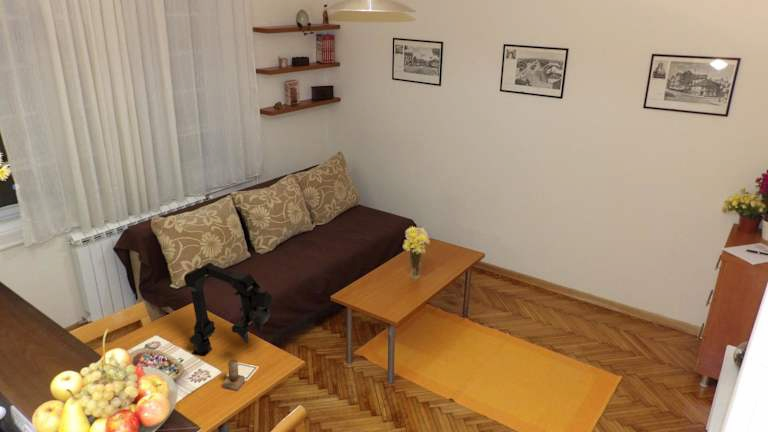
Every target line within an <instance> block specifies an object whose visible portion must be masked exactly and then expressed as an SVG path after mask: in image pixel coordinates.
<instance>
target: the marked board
mask: <svg viewBox="0 0 768 432" xmlns="http://www.w3.org/2000/svg"><path fill="white" fill-rule="evenodd" d="M258 369H259V366H256V365H251V364H247V363H243V362H238V375H241V376H244V380H245V381H247V382H248V381H249V380H250V378H251V377H252V376H253V375H254V374H255V373H256V371H257V370H258ZM228 376H229V372H228V373H227V374H225V377H228Z"/></svg>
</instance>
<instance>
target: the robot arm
mask: <svg viewBox="0 0 768 432" xmlns="http://www.w3.org/2000/svg"><path fill="white" fill-rule="evenodd" d="M206 276H209V277H211V278H213V279H215V280H219V281H222V282H224V283H226V284H229V285H230V286H231V287H232V288H233V289H234V290H236V292H235V293H234V296H239V301H240V307H239V311H240V312H241V313H242V316H241V317H240V320H241V321H242V322H241V321H237V322H236V323H234V324H233V325H232V326H231V332H232V333H235V334H237V335H238V336H239V337H240V338H241V339H242V341H243V342H245V343H244V344H249V332H250V330H251V329H250V324H251V323H253V322H254V326H255V329H256V332H257V333H259V334H260V333H261V331H262V328H263V325H264V324H265V323H266V322H268V321H269V317H270V316H271V315H272V313H271V309H270V306H271V305H272V302H273V298H272V295H271V293H269V291H268V290H260V289H261V286H260V285H259V283H258V282H257V281H256V280H255V279H254V277H253V275H251V274H249V273H245V272H234V271H230V270H228V269H226V268H222V267H220V266H217V265H214V264H213V263H212V262H207V263H206V264H203V265H201V267H196V268H194V269H192V270H191V271H189V272H187V273H185V275H184V277H183V279H184V283H185V285H186V286H185V287H186V288H187V289H188V291H190V293H191V299H192V304H193V310H194V315H195V324H194V327H193V335H192V336H191V337H189V341H190V344H193V351H192V355H196V356H200V357H206V356H207V355H208V354H209V353H210V352H211V351H212V350H213V347H212V344H211V340H210V337H212V336H213V334H214V332H215V330H216V327H215V321H212V320H210V319H209V316H208V310H207V303H206V299H205V293H204V286H205V283H206Z"/></svg>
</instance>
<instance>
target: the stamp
mask: <svg viewBox="0 0 768 432" xmlns="http://www.w3.org/2000/svg"><path fill="white" fill-rule="evenodd" d="M227 363H228V364H227V366H228V373H229V376H226V378H225V380H223V384H222V386H223V385H224V388H225V389H224V388H223V389H224V390H228V389H229V391H233V390H234V392H239V390H240V389H241V388H242V387H243V385H244V384H245V383H246V382H245V381H246V380H244V376H241V375H238V363H239V362H238V360H237V359H230V360H229V361H228V362H227ZM241 386H242V387H241ZM240 387H241V388H240Z"/></svg>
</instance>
